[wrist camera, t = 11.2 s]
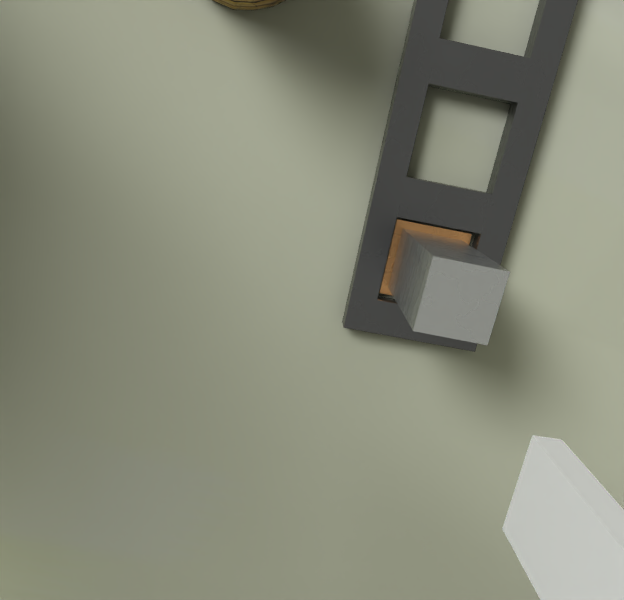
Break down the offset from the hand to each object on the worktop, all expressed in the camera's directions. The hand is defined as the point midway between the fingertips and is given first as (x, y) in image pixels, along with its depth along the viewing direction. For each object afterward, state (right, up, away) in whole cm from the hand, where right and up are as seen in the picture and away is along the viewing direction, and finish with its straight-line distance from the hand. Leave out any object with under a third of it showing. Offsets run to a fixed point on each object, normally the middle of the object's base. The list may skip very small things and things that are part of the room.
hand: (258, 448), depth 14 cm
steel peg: (+9, +6, +24) cm, 26 cm away
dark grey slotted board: (+10, +13, +22) cm, 28 cm away
